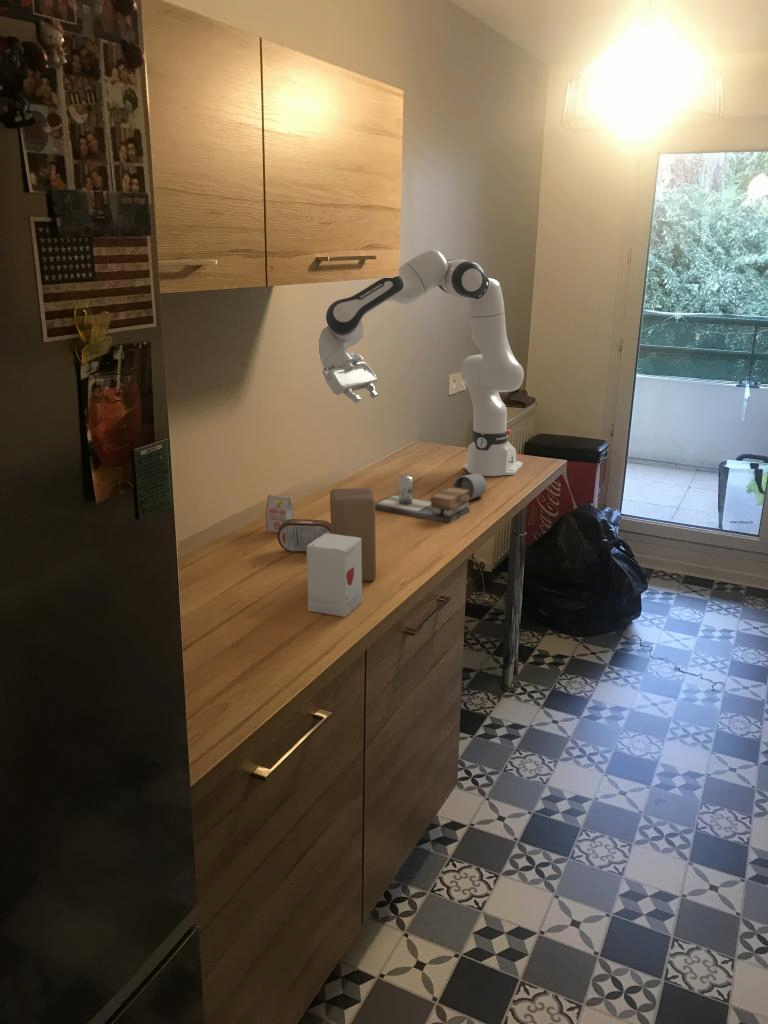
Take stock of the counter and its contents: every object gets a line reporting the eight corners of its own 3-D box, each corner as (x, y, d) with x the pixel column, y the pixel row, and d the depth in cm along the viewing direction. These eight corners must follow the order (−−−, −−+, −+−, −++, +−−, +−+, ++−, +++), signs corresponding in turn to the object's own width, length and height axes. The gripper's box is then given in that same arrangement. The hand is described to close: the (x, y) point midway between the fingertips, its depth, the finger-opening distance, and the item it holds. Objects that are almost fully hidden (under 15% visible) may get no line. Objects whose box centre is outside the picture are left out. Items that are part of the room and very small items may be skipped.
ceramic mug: (488, 497, 257) (488, 472, 254) (473, 503, 251) (473, 478, 248) (459, 491, 263) (459, 468, 261) (444, 497, 257) (444, 473, 255)
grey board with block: (393, 498, 256) (393, 477, 254) (469, 511, 243) (469, 489, 241) (371, 508, 246) (371, 487, 244) (449, 522, 233) (450, 500, 231)
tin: (337, 550, 213) (336, 519, 210) (335, 554, 210) (335, 523, 207) (279, 549, 214) (278, 517, 212) (277, 553, 211) (275, 521, 209)
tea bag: (274, 527, 230) (272, 492, 227) (294, 531, 227) (293, 495, 224) (266, 531, 227) (264, 496, 224) (287, 535, 224) (285, 499, 221)
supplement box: (345, 618, 174) (343, 550, 169) (307, 611, 177) (304, 545, 173) (363, 602, 182) (362, 537, 177) (326, 595, 185) (324, 531, 181)
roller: (403, 500, 249) (403, 474, 247) (415, 502, 247) (415, 476, 245) (396, 503, 246) (396, 477, 244) (408, 505, 244) (408, 479, 242)
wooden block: (332, 568, 201) (329, 488, 195) (373, 566, 202) (372, 486, 196) (332, 583, 192) (330, 500, 185) (376, 582, 192) (375, 499, 186)
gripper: (325, 361, 246) (353, 397, 244) (364, 354, 262) (390, 388, 260) (314, 375, 250) (341, 411, 248) (352, 367, 266) (378, 401, 264)
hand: (367, 399), depth 254 cm, fingers open, 8 cm apart
